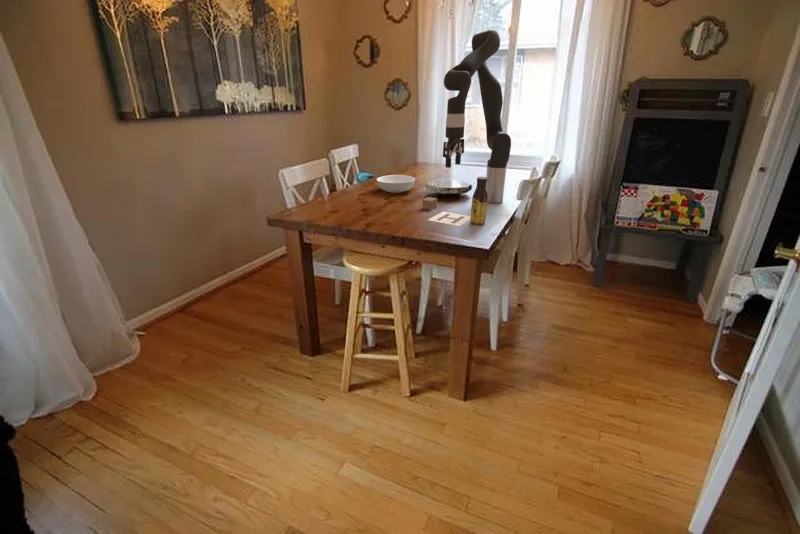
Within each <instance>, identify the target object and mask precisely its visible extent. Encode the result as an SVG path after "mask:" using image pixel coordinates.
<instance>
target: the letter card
mask: <svg viewBox="0 0 800 534" xmlns="http://www.w3.org/2000/svg"><path fill="white" fill-rule="evenodd" d="M470 218H471V215H466V214H459V213H454V212H448V211H444V210H443V211H442V212H440V213H438V214H436V215H433V216H432V217H430V218H428V219H427V221H429V222H430V221H432V222H437V223H441V224H446V225H452V226H457V227H460V226H461V225H463V224H465V223H466V222H468V221H470Z"/></svg>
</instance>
